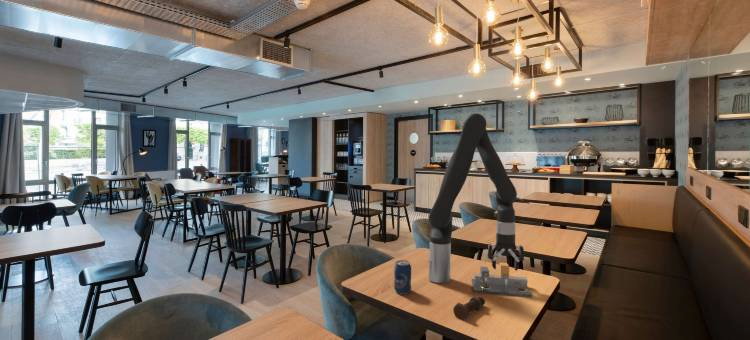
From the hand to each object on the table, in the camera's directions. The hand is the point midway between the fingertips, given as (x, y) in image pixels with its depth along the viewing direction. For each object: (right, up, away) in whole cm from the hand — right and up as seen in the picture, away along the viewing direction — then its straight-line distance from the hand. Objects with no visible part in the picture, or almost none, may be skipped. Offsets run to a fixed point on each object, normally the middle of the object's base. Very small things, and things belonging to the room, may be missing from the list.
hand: (505, 269), depth 144 cm
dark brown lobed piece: (-21, -10, -21) cm, 31 cm away
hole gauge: (-3, -8, -2) cm, 8 cm away
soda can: (-44, -8, -4) cm, 45 cm away
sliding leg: (-1, -6, -1) cm, 6 cm away
